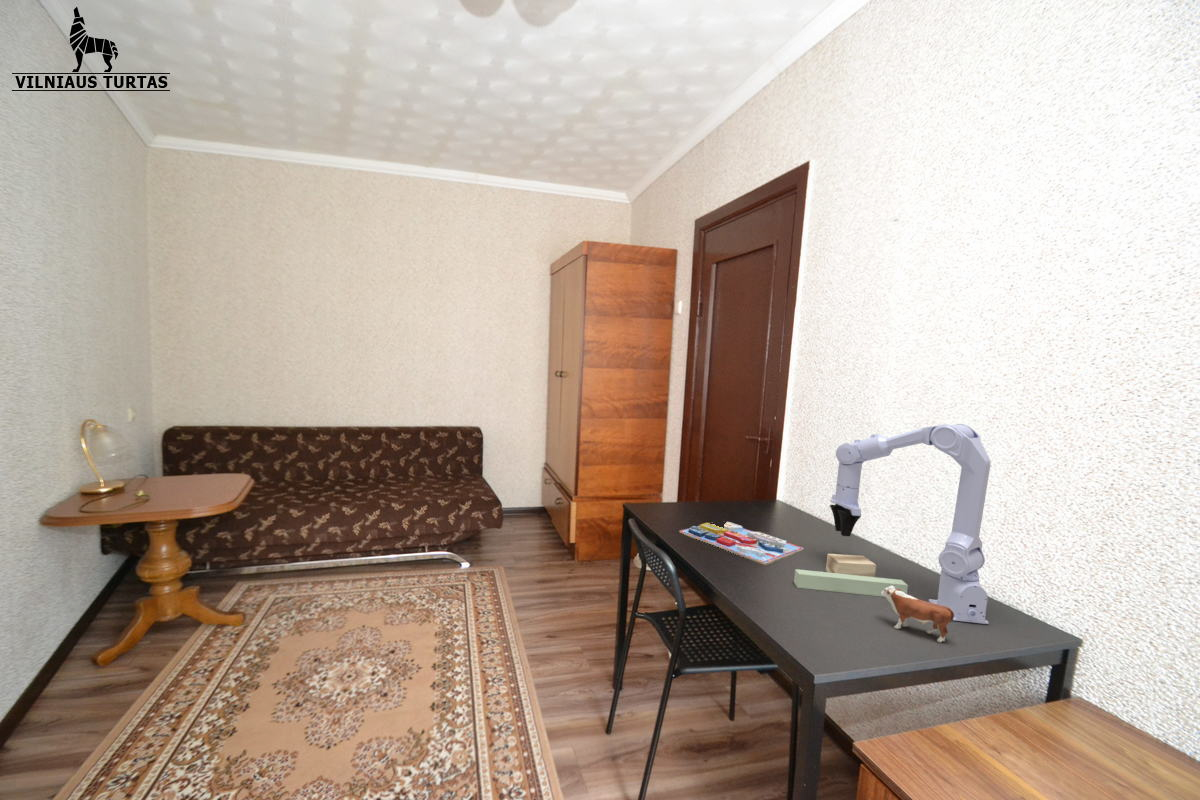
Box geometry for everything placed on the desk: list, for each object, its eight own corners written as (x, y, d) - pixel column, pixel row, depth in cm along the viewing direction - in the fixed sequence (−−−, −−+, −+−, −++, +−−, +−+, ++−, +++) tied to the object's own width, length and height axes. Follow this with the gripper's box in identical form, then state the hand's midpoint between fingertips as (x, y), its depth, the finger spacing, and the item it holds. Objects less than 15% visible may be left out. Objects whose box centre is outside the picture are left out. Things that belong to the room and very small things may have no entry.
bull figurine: (878, 615, 112) (883, 580, 111) (951, 639, 103) (956, 601, 103) (874, 622, 108) (879, 586, 108) (949, 647, 100) (954, 609, 99)
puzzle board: (804, 551, 151) (805, 543, 151) (765, 568, 136) (766, 559, 135) (720, 523, 174) (720, 515, 173) (678, 534, 158) (678, 526, 158)
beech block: (873, 583, 130) (876, 564, 130) (836, 581, 130) (838, 562, 129) (861, 573, 136) (863, 555, 136) (825, 571, 136) (827, 553, 135)
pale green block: (906, 599, 121) (907, 585, 121) (797, 587, 123) (799, 574, 123) (899, 593, 124) (901, 579, 124) (793, 582, 126) (795, 569, 126)
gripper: (823, 478, 146) (818, 523, 147) (843, 491, 131) (838, 540, 132) (848, 480, 145) (843, 526, 146) (871, 493, 131) (865, 543, 132)
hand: (842, 533), depth 139 cm, fingers open, 3 cm apart
